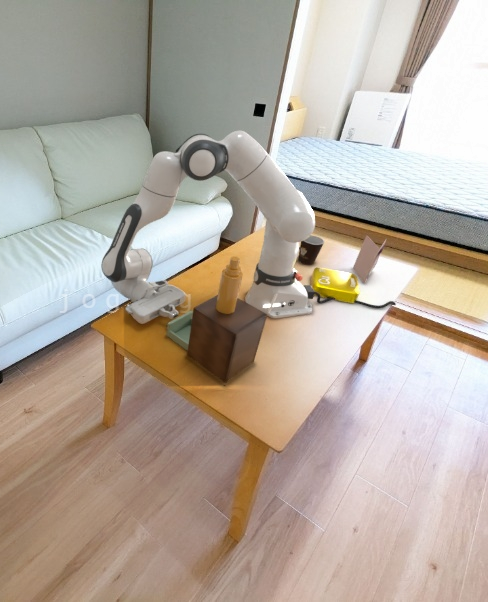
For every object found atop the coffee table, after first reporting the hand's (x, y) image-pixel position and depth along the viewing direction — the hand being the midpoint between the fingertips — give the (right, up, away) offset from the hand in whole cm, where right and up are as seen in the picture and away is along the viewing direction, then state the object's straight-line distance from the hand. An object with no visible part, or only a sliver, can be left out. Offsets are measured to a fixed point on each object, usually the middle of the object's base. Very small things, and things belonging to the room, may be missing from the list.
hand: (175, 315), depth 117 cm
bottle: (+11, +3, -18) cm, 21 cm away
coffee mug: (+60, +22, +41) cm, 76 cm away
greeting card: (+78, +15, +31) cm, 85 cm away
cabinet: (+12, -13, -9) cm, 19 cm away
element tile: (+62, +9, +23) cm, 66 cm away
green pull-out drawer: (+5, -7, -2) cm, 9 cm away
